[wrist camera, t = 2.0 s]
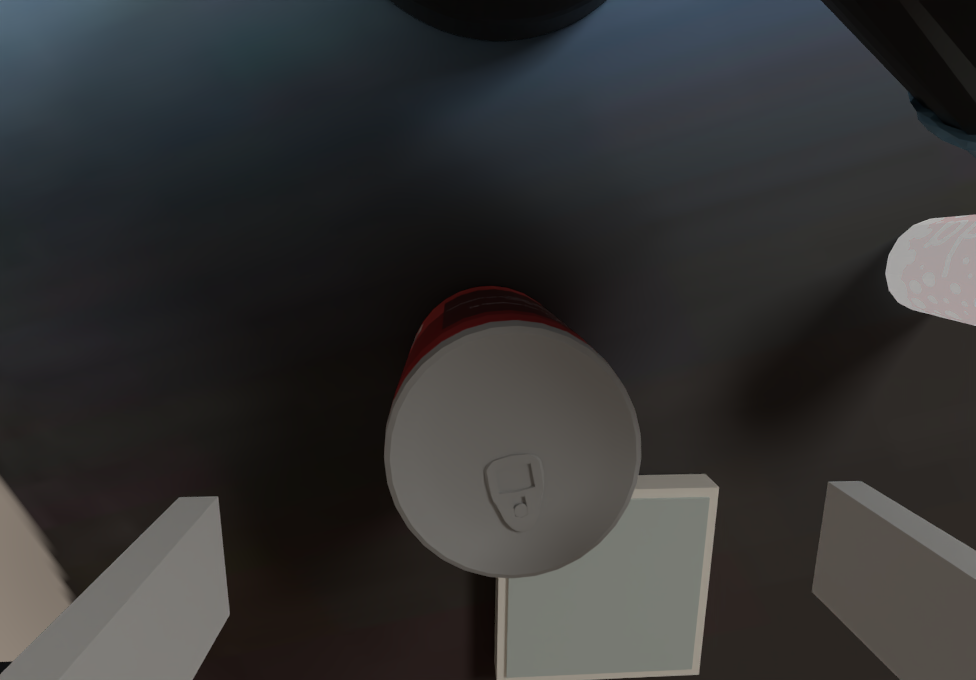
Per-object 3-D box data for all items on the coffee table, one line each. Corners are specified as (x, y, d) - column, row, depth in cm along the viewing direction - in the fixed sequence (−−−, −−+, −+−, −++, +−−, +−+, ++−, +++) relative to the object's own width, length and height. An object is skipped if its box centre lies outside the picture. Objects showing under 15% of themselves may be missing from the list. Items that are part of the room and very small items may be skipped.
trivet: (497, 478, 27) (500, 493, 26) (704, 473, 28) (720, 488, 26) (494, 661, 30) (496, 686, 28) (686, 652, 30) (699, 676, 29)
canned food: (454, 465, 27) (457, 621, 16) (380, 326, 25) (328, 398, 15) (591, 400, 27) (684, 515, 16) (525, 256, 25) (581, 277, 14)
